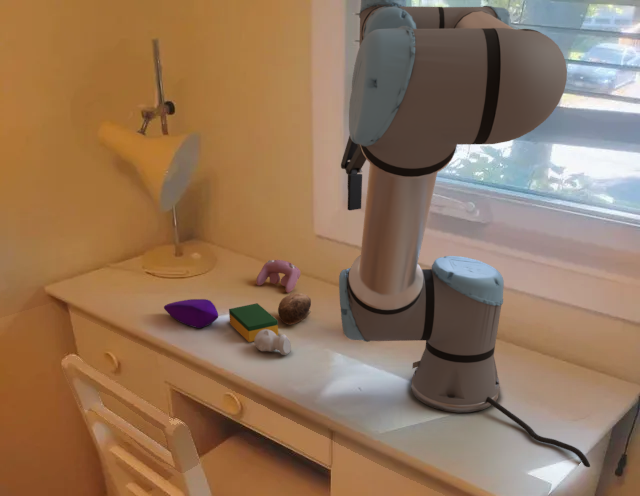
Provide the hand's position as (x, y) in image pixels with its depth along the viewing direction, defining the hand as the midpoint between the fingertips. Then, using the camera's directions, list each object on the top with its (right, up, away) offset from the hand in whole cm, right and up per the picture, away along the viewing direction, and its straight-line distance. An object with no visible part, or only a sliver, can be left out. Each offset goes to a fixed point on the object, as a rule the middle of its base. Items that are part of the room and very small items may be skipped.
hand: (374, 217), depth 135 cm
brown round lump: (-16, -17, +16) cm, 29 cm away
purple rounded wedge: (-37, -17, +16) cm, 44 cm away
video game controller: (-20, -7, +33) cm, 39 cm away
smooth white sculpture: (-20, -25, +4) cm, 32 cm away
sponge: (-24, -20, +12) cm, 33 cm away
